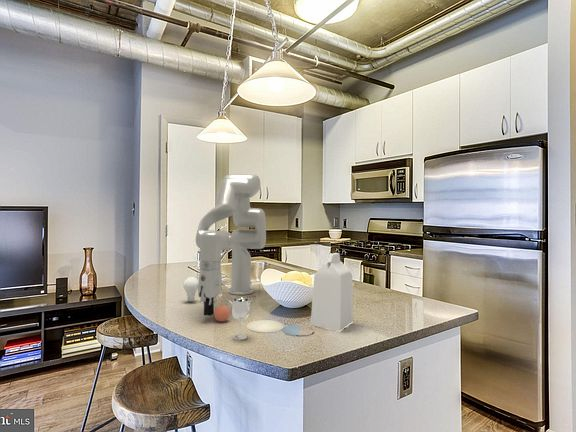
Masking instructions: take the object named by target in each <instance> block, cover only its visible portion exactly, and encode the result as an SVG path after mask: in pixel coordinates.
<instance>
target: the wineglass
mask: <svg viewBox="0 0 576 432" xmlns="http://www.w3.org/2000/svg"><path fill="white" fill-rule="evenodd" d="M250 310H251V309H250V300H249V299H248V298H246V297H245V298H244V297H237V298H234V299H233V301H232V305H231V315H232V318H233V319H235V320H237V321H238V327H239V328H238V329H239V330H238V334H235V335H233V336H232V339H233V340H238V341H239V340H240V341H242V340H246V339H247V337H248V336H247V335H245V334H242V330H241V329H242V325H243V322H242V321H243V320H245V319H247V318H248V317H249V315H250V312H251V311H250Z"/></svg>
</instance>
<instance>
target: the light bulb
mask: <svg viewBox="0 0 576 432" xmlns="http://www.w3.org/2000/svg"><path fill="white" fill-rule="evenodd" d="M198 283H199V279H197V277H193V276H189V277H188V278H186V279H185V280H184V282H183V288H184V290H185V292H186V296H187V302H189V303H192V302H194V301H195V296H196V292H198Z"/></svg>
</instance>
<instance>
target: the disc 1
mask: <svg viewBox="0 0 576 432" xmlns="http://www.w3.org/2000/svg"><path fill="white" fill-rule="evenodd" d="M284 327H285V326H284V324H283V323H281V322H279V321H276V320H270V319H262V320H261V319H260V320H259V319H258V320H254V321H250V322H248V323H247V325H246V328H247V329H248V330H250V331H252V332H256V333H264V334H267V333H268V334H269V333H276V332H279V331H282V329H283V328H284Z"/></svg>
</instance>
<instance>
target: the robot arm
mask: <svg viewBox="0 0 576 432" xmlns="http://www.w3.org/2000/svg"><path fill="white" fill-rule="evenodd" d="M260 189H261V179H260V177H259V176H258V175H256V174H241V173H239V174H238V173H237V174H235V173H232V174H227V175H224V177H223V179H222V181H221V182H220V186H219V189H218V194H217V198H216V201H215V206H214V207H213V208H212V209H211V210H209V211H208V212H207V213H206V214H205V215H204V216H203V217H202V218H201V219H200V222H199V225H198V228H197V230H196V235H195V245H196V246H197V248H199V250H200V252H199V270H200V271H199V275H198V281H199V283H198V289H197V294H198V297H199V298H200V300H199V302H200V303H202V304H203V315H204V316H209V317H212V316H214V311H215V302H216V297H218V296H219V295H221V293H222V288H223V287H222V286H223V285H222V284H223V283H222V282H223V281H222V270H221V261H222V251H228V250H229V249H230V248H231V274H230V275H231V279H230V280H231V281H230V288H228V289H227V293H228V294H230V295H234V296H235V295H236V296H244V295H251V294H254V289H253V288H251V286H252V285H253V284H252V281H251V278H252V277H251V274H252V257H251V254H250V252H249V251H248V250H249V249H253V250H261V249H264V248H265V246H266V244H267V243H266V242H267V228H266V227H267V226H266V225H267V224H266V223H267V221H266V213H265V211H264V210H263V208H260V207H259V208H257V207H255V208H254V207H251V198H253V197H254V196H255V195H257V194H258V192H259V191H260ZM230 217H232V221H233V224H234V226H236V227H238V228H237V229H234V230H233V231H232V232H229V231H226V230H225V231H224V230H212V229H211V230H209V229H210V228H211V227H212V226H213V225H214V224H216V223H218V222H220V221H223V220H225V219H228V218H230ZM239 227H240V228H239ZM250 228H251V229H250ZM252 228H253V229H252Z"/></svg>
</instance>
